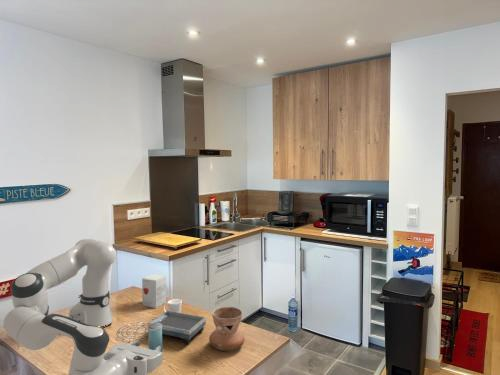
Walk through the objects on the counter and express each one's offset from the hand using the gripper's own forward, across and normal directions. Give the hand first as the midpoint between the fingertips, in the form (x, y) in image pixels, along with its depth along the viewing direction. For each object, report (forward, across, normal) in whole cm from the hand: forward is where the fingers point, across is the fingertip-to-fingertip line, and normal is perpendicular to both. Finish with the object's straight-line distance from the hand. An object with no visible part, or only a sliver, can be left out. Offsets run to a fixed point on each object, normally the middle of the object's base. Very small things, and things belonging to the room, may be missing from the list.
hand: (148, 345), depth 133 cm
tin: (+5, 0, -6) cm, 7 cm away
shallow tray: (+21, 0, -6) cm, 21 cm away
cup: (+35, -12, -6) cm, 37 cm away
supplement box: (+45, -30, -6) cm, 54 cm away
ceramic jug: (+21, +24, -6) cm, 32 cm away
